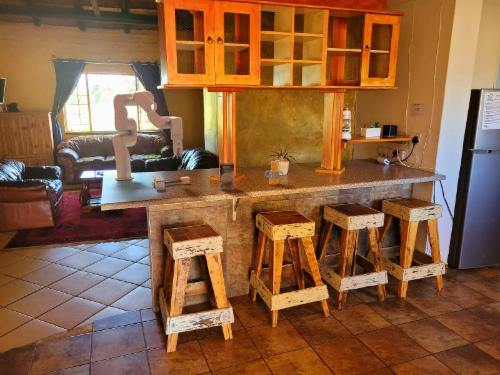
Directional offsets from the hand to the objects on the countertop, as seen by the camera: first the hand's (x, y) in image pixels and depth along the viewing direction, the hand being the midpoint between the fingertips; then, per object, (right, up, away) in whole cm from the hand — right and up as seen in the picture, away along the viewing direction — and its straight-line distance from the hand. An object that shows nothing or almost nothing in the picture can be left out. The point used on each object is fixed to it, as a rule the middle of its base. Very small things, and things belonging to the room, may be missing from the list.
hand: (178, 163), depth 237 cm
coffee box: (+32, -16, -7) cm, 37 cm away
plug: (-5, -14, +4) cm, 15 cm away
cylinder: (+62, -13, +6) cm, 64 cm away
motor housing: (-12, -15, -1) cm, 19 cm away
